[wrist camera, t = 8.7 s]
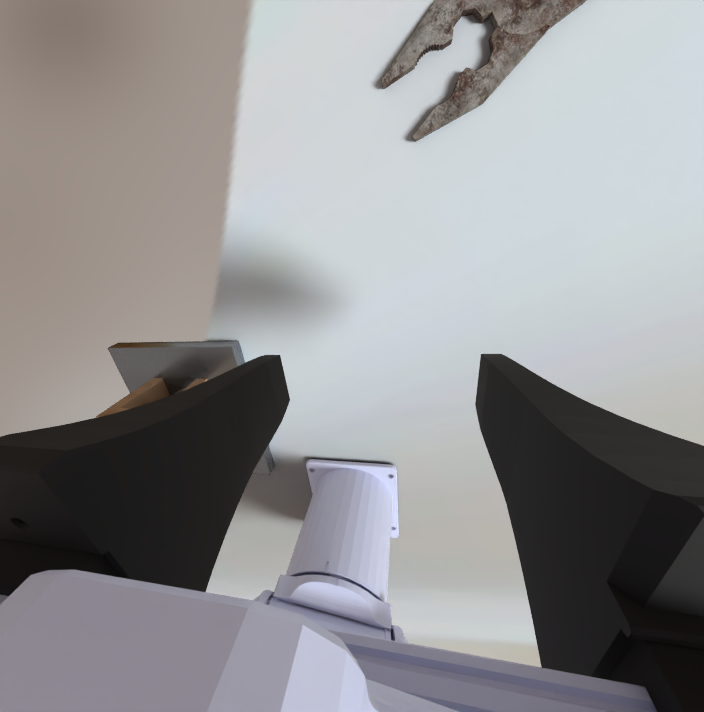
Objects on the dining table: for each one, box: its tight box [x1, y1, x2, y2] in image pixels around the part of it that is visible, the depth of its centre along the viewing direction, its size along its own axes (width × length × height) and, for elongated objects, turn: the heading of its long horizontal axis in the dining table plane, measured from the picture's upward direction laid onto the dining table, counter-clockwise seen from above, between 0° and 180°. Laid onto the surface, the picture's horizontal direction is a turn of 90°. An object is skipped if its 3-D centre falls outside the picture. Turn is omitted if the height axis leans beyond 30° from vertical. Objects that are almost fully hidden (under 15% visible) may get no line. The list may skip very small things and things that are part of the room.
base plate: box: [108, 341, 274, 475], centre depth 25 cm, size 13×11×4 cm
